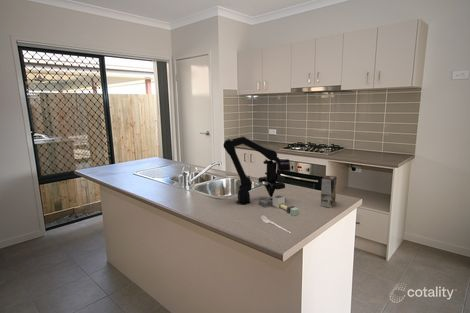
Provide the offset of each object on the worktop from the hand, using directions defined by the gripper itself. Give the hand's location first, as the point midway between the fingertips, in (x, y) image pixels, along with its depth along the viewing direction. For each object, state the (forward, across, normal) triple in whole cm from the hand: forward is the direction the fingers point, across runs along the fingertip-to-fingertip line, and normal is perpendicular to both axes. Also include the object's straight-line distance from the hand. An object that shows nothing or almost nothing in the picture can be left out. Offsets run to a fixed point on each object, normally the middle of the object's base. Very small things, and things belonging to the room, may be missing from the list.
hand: (271, 196), depth 167 cm
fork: (+4, -26, +17) cm, 32 cm away
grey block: (+4, -7, 0) cm, 8 cm away
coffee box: (+4, -20, -26) cm, 33 cm away
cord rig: (+4, -11, 0) cm, 11 cm away
